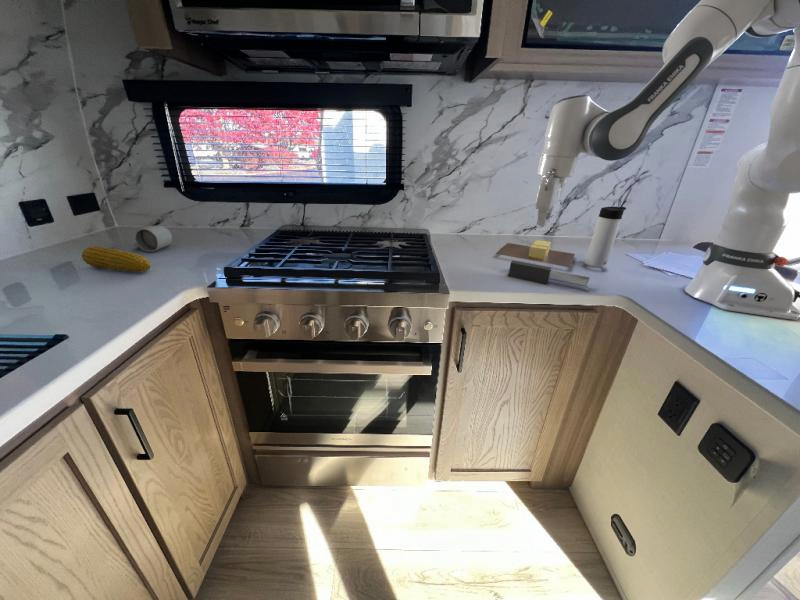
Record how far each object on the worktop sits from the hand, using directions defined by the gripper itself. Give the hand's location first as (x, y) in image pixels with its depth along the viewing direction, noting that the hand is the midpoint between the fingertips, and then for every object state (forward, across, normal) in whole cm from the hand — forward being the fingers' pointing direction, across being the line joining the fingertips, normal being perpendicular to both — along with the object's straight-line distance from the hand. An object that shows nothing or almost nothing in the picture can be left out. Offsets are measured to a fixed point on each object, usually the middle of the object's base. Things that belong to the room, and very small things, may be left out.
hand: (543, 222), depth 92 cm
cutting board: (+17, +22, +2) cm, 28 cm away
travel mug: (+17, +23, -16) cm, 33 cm away
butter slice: (+15, +18, +2) cm, 24 cm away
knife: (+17, -1, -5) cm, 17 cm away
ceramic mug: (+19, -48, +114) cm, 125 cm away
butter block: (+15, +24, +2) cm, 29 cm away
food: (+19, -63, +101) cm, 121 cm away
